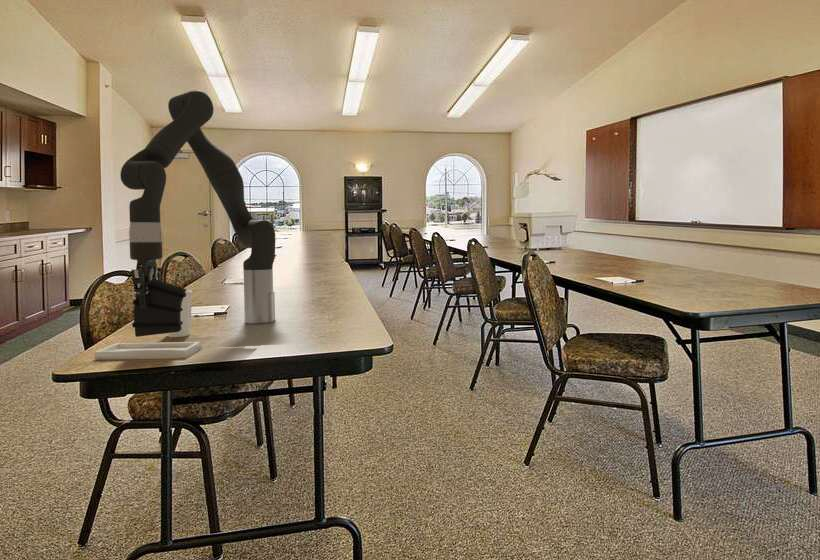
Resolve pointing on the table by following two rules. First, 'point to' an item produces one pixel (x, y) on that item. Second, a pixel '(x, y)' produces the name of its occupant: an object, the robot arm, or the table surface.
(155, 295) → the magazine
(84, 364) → the table surface
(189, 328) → the cup
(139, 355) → the cradle
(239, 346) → the table surface
